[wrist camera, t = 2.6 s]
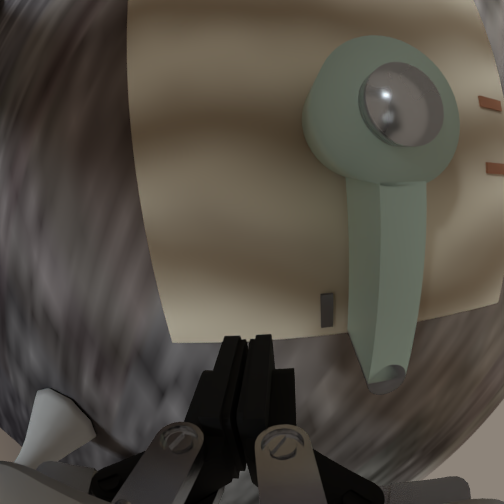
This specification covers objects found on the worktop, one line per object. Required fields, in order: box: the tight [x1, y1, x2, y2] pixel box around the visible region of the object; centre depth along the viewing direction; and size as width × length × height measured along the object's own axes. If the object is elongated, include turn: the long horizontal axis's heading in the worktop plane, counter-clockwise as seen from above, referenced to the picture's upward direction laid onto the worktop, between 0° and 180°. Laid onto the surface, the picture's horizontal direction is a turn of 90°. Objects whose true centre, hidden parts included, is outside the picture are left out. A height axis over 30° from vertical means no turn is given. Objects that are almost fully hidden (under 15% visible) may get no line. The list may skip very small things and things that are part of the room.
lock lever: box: [302, 35, 460, 395], centre depth 9 cm, size 13×5×5 cm, turn 7°
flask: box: [13, 388, 96, 470], centre depth 16 cm, size 7×7×10 cm
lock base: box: [127, 0, 504, 343], centre depth 12 cm, size 20×20×2 cm
